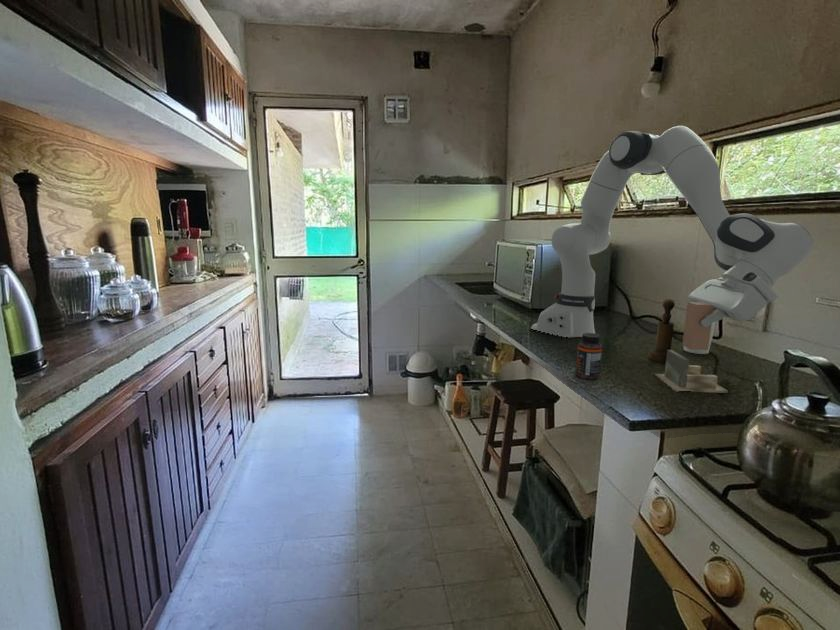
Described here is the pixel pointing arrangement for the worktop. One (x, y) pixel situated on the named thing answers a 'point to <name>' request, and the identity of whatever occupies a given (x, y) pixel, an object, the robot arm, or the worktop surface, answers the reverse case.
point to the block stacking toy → (687, 376)
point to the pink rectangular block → (697, 326)
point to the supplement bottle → (589, 356)
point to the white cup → (708, 346)
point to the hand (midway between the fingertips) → (695, 322)
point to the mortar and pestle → (663, 334)
